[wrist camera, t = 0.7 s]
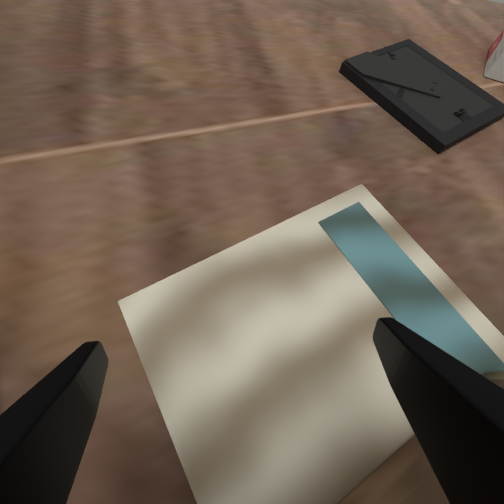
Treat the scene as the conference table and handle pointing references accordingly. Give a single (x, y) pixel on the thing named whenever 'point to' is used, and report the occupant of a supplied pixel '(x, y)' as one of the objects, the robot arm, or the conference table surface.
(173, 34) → the conference table surface
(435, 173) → the conference table surface
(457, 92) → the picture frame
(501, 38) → the ink cartridge box
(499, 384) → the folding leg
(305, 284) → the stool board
